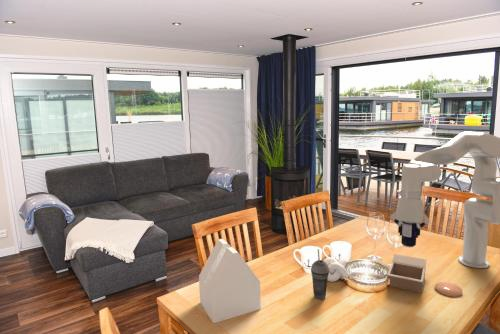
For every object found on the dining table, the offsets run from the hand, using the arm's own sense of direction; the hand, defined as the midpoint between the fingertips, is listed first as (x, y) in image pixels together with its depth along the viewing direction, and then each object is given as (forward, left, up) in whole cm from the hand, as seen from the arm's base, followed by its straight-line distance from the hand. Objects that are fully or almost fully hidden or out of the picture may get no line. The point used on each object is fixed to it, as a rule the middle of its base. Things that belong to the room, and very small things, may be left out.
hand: (408, 235), depth 151 cm
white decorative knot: (+11, -27, -21) cm, 36 cm away
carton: (0, 0, -21) cm, 21 cm away
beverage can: (0, 0, -5) cm, 5 cm away
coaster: (0, +16, -21) cm, 26 cm away
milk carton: (+51, -58, -21) cm, 80 cm away
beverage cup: (+29, -29, -21) cm, 46 cm away
